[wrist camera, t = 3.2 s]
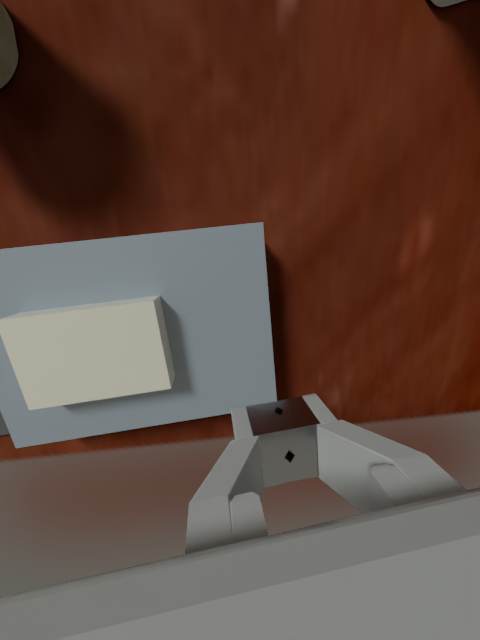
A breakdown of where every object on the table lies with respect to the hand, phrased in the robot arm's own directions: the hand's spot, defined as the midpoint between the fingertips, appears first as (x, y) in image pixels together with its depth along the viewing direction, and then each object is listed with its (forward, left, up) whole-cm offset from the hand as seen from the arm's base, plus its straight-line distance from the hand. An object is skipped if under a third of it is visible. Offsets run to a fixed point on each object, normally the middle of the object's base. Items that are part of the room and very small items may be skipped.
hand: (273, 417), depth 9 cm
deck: (+8, 0, -14) cm, 16 cm away
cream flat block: (+10, 0, -10) cm, 14 cm away
